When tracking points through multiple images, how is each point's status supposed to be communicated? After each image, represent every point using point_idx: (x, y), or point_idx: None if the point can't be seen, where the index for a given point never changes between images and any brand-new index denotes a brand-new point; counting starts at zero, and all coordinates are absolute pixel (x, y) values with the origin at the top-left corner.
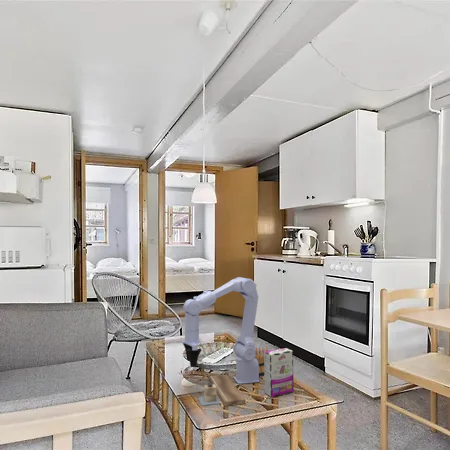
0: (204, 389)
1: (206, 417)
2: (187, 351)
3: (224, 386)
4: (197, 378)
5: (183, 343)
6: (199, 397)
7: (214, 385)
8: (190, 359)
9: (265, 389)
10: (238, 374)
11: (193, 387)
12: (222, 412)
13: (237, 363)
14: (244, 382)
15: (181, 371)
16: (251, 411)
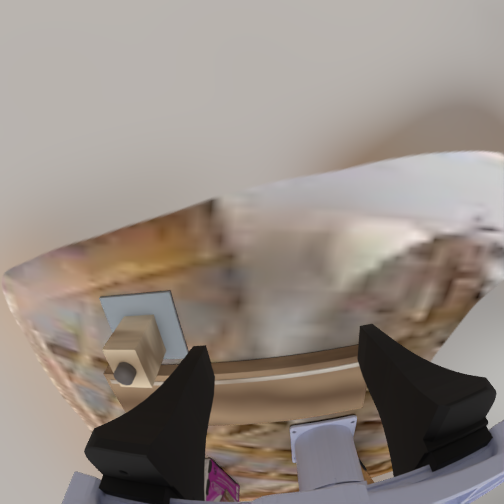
0: (135, 339)
1: (37, 299)
2: (95, 434)
3: (241, 399)
4: (402, 298)
5: (477, 398)
6: (167, 298)
7: (139, 385)
8: (162, 389)
9: (205, 467)
10: (313, 446)
11: (300, 278)
12: (72, 348)
13: (326, 476)
14: (291, 439)
15: (489, 229)
16: (96, 408)
